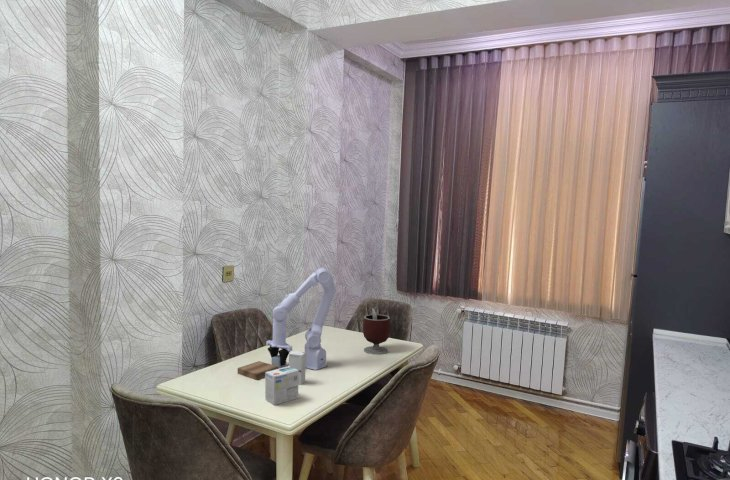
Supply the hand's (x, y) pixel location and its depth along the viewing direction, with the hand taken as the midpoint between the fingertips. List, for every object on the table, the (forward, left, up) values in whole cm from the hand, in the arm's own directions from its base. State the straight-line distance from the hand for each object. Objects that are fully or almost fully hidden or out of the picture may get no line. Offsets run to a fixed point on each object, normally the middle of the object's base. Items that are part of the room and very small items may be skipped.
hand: (278, 364), depth 211 cm
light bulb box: (-27, +24, -2) cm, 36 cm away
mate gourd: (-18, -49, -2) cm, 52 cm away
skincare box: (-19, +8, -2) cm, 21 cm away
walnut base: (+1, +11, -2) cm, 11 cm away
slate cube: (0, 0, -1) cm, 1 cm away
